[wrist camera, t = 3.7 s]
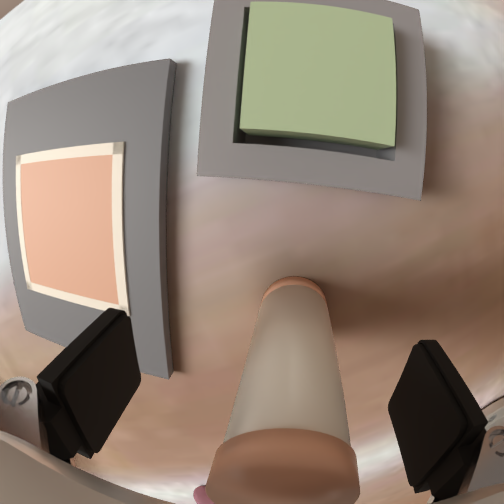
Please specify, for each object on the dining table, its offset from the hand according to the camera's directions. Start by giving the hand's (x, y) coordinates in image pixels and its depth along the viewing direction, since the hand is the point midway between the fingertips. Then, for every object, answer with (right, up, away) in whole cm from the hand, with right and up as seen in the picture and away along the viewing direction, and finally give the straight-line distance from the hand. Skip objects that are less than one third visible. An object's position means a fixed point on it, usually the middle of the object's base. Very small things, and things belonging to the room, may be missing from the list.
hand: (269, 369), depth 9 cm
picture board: (-11, +5, +6) cm, 14 cm away
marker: (+2, +1, +5) cm, 6 cm away
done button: (+2, +10, +1) cm, 10 cm away
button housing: (+2, +11, +3) cm, 11 cm away
